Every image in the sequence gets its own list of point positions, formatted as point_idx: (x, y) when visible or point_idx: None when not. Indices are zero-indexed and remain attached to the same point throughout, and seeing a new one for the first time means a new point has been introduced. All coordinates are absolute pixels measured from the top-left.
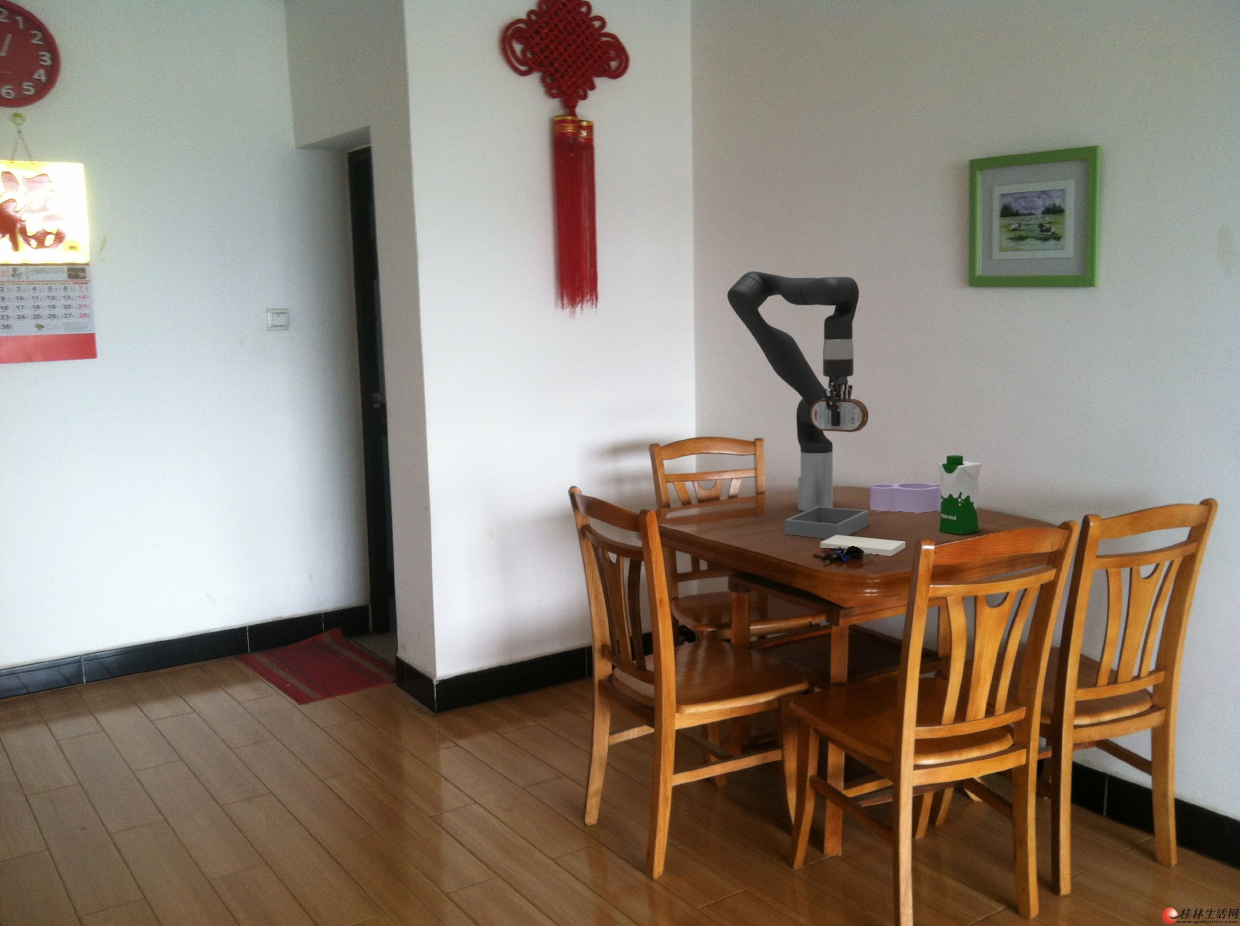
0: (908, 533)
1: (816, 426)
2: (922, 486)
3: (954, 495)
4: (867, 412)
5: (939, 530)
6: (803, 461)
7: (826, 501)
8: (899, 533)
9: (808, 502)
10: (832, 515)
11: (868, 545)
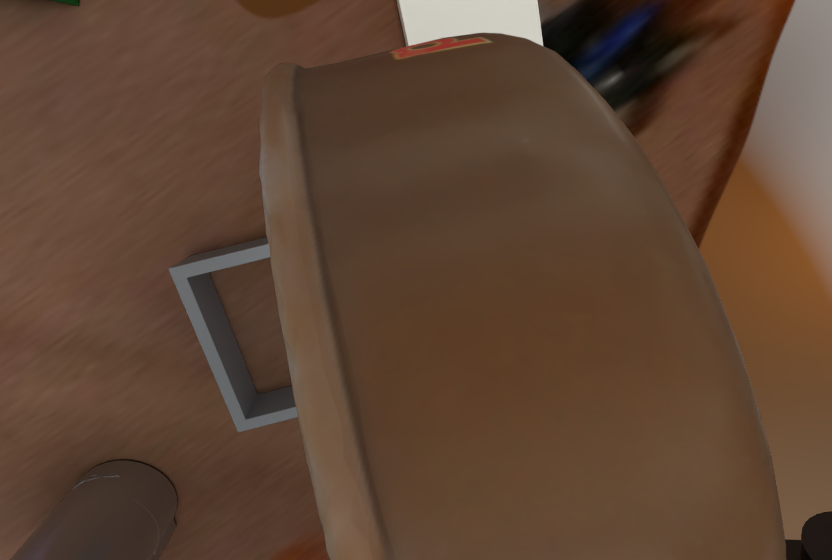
0: (193, 80)
1: None
2: None
3: None
4: (301, 69)
5: (77, 2)
6: None
7: (115, 483)
8: (216, 105)
9: (163, 514)
10: (236, 368)
11: (511, 24)
